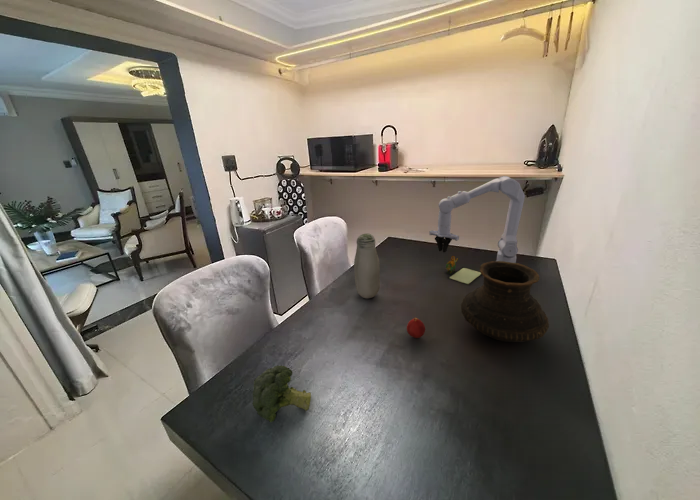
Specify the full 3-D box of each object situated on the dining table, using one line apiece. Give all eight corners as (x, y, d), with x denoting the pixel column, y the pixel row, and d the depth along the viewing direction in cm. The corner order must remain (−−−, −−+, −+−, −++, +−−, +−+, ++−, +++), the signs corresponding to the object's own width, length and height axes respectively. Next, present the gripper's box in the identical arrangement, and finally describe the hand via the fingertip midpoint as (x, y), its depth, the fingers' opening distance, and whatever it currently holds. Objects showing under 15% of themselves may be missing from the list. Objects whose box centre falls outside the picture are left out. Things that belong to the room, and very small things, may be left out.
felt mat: (463, 268, 131) (463, 267, 131) (482, 273, 125) (482, 272, 124) (449, 278, 123) (449, 277, 122) (468, 284, 116) (468, 283, 116)
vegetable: (302, 436, 58) (237, 415, 57) (298, 425, 69) (244, 407, 68) (321, 378, 63) (262, 357, 62) (315, 377, 75) (265, 359, 74)
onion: (413, 329, 91) (413, 310, 88) (428, 336, 87) (429, 316, 84) (403, 338, 88) (403, 318, 85) (418, 346, 84) (419, 325, 81)
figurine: (442, 275, 126) (443, 259, 123) (454, 266, 133) (455, 251, 130) (448, 276, 124) (449, 261, 121) (460, 268, 131) (462, 253, 128)
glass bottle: (368, 305, 107) (365, 240, 97) (352, 296, 114) (347, 235, 104) (384, 295, 113) (383, 233, 102) (368, 287, 120) (365, 229, 110)
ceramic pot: (447, 335, 87) (451, 275, 79) (474, 302, 103) (481, 249, 95) (533, 373, 71) (551, 302, 63) (550, 327, 87) (566, 266, 79)
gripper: (426, 224, 127) (425, 250, 132) (454, 229, 116) (452, 257, 121) (434, 220, 131) (433, 246, 136) (462, 225, 121) (459, 252, 126)
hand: (442, 251), depth 129 cm, fingers closed
